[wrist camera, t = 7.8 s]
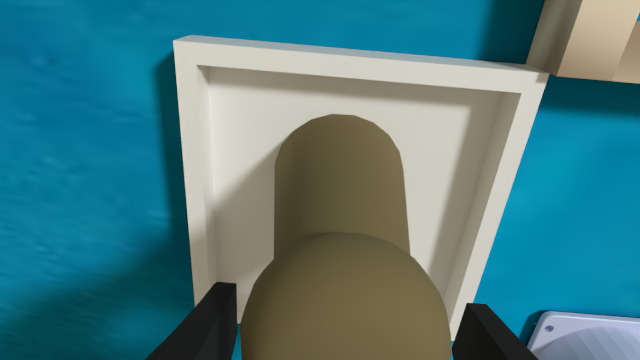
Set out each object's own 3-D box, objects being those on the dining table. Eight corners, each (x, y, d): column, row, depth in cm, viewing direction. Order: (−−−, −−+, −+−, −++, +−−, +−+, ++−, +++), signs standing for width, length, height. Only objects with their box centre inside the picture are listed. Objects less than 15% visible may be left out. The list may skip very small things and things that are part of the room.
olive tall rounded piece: (252, 196, 19) (164, 425, 9) (313, 88, 16) (284, 235, 7) (359, 248, 20) (385, 502, 10) (429, 154, 18) (555, 365, 8)
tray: (449, 313, 22) (459, 341, 21) (207, 293, 22) (196, 320, 20) (525, 64, 16) (549, 73, 14) (190, 34, 16) (173, 40, 14)
